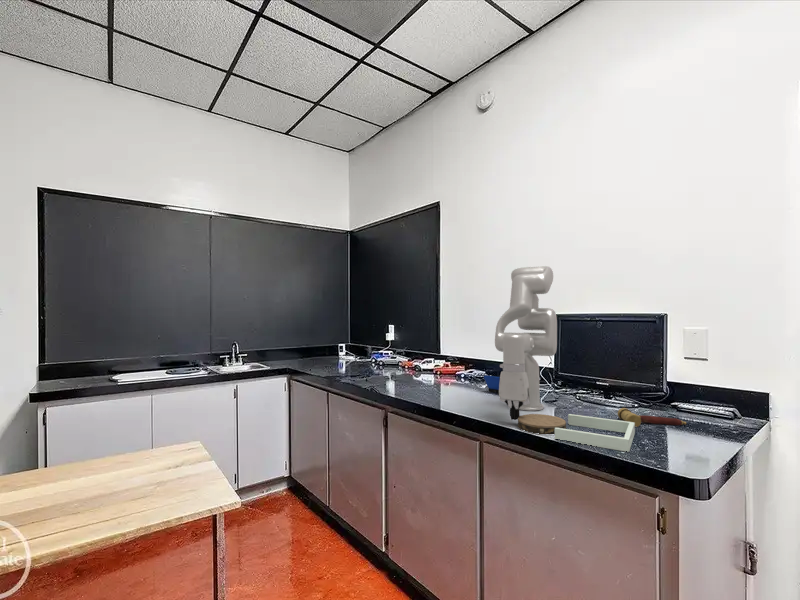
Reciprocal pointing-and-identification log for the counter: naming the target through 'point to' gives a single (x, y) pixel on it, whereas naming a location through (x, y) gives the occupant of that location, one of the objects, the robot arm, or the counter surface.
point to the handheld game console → (492, 383)
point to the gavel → (646, 418)
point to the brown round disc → (540, 423)
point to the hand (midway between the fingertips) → (514, 418)
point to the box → (598, 439)
